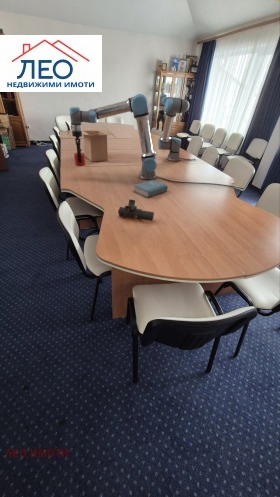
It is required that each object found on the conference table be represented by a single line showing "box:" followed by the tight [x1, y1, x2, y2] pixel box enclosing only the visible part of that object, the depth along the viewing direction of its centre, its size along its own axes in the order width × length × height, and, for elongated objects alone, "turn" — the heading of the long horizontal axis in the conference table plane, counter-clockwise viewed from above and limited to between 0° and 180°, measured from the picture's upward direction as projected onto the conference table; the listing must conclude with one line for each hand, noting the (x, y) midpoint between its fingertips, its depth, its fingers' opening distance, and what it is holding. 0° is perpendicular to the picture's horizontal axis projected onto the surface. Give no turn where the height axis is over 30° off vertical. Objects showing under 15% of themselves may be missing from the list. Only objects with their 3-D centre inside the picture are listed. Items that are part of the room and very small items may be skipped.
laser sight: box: [117, 199, 155, 222], centre depth 138 cm, size 10×22×10 cm, turn 78°
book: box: [133, 179, 169, 198], centre depth 177 cm, size 23×16×5 cm
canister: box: [73, 152, 86, 167], centre depth 184 cm, size 8×8×9 cm
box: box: [81, 128, 115, 162], centre depth 240 cm, size 44×36×27 cm
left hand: (79, 160), depth 185 cm, fingers closed on canister, 8 cm apart
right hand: (160, 130), depth 270 cm, fingers open, 13 cm apart
